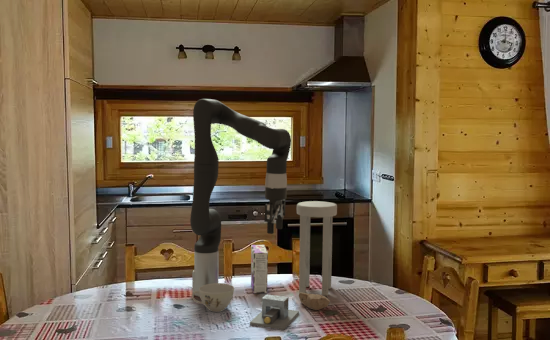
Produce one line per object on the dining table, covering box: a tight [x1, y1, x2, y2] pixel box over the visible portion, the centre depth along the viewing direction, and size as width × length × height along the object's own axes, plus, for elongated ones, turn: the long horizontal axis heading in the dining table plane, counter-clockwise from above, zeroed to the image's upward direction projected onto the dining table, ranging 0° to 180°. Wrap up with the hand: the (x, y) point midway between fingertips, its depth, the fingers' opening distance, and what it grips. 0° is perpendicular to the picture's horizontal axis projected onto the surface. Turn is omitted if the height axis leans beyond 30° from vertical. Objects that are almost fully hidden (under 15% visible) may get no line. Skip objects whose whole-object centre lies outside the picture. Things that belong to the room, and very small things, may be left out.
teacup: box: [191, 282, 235, 313], centre depth 192 cm, size 15×12×8 cm
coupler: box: [249, 307, 300, 331], centre depth 183 cm, size 12×16×4 cm
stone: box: [298, 292, 331, 311], centre depth 198 cm, size 9×11×5 cm
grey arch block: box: [261, 293, 289, 320], centre depth 183 cm, size 8×4×6 cm, turn 70°
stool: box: [296, 200, 338, 297], centre depth 214 cm, size 16×16×35 cm
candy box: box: [250, 244, 269, 294], centre depth 217 cm, size 14×6×16 cm, turn 6°
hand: (274, 231), depth 190 cm, fingers open, 8 cm apart
